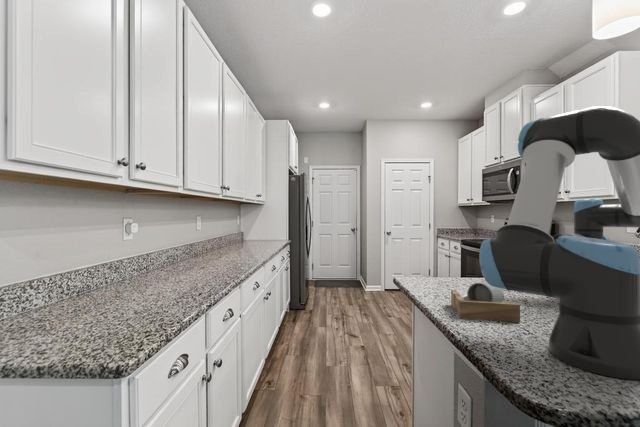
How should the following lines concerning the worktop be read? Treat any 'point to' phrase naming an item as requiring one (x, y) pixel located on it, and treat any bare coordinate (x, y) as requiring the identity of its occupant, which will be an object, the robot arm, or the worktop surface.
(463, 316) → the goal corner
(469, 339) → the worktop surface
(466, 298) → the ceramic mug
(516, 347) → the worktop surface
